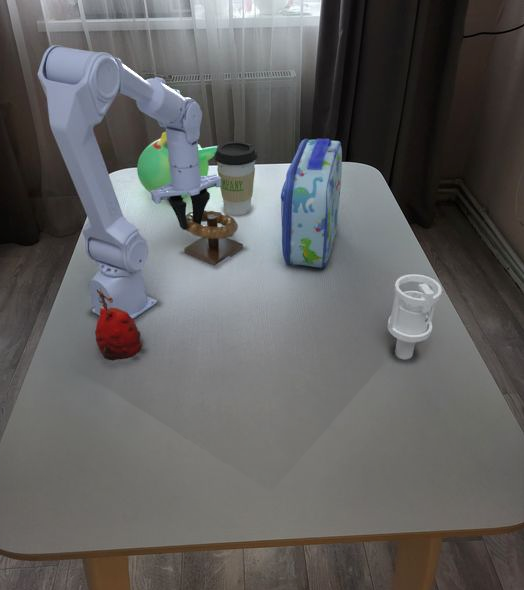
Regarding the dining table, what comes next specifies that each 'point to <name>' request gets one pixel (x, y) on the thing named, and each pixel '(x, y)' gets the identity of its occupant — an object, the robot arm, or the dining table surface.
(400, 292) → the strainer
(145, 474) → the dining table surface
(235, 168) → the coffee cup
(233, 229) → the ring
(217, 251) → the post
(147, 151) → the toy bird
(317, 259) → the lunch box
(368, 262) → the dining table surface
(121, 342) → the red rounded lump
